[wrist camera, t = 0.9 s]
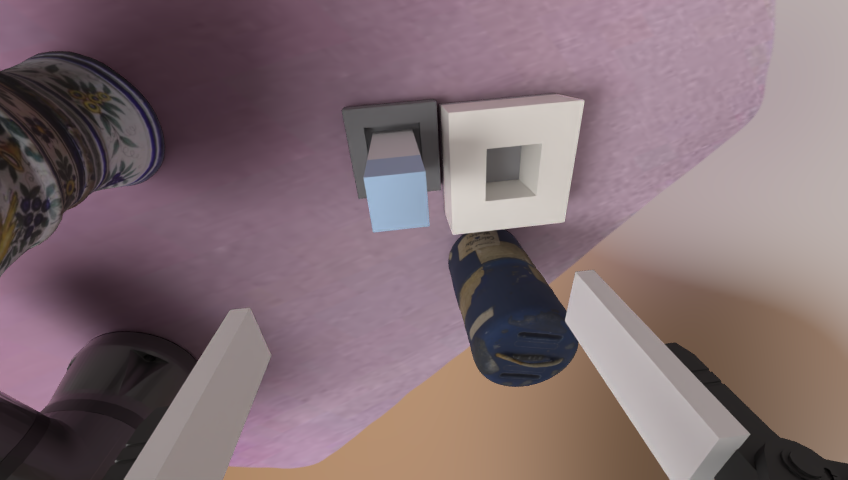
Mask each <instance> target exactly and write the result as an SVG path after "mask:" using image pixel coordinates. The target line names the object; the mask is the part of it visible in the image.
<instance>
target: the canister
mask: <svg viewBox="0 0 848 480" xmlns="http://www.w3.org/2000/svg"><path fill="white" fill-rule="evenodd" d="M448 264H449V270H450V273H451V277H452V282H453V286H454V291H455V295H456V298H457V302H458V305H459V308H460V311H461V314H462V317H463V320H464V325H465V329H466V331H467V335H468V339H469V342H470V346H471V351H472V354H473V358H474V361H475V363H476V366H477V368H478V369H479V371H480V372H481V373H482V374H483V375H484V376H485V377H486V378H487V379H489V380H490V381H492V382H494V383H497V384H500V385H504V386H512V387H519V386H529V385H533V384H537V383H540V382H543V381H545V380H548V379H550V378H551V377H553V376H555V375H556V374H558V373H559V372H560V371H562V370H563V369H564V368H565V367H566V366H567V365H568V364H569V363H570V362H571V360H572V359H573V357H574V355H575V353H576V351H577V348H578V340H577V339H576V337H575V336H574V334H573V333H572V331H571V330H570V328H569V327H568V325H567V323H566V322H565V318H566V313H567V311H566V310H565V308H564V307H563V305H562V304H561V303H560V301H559V300H558V298H557V297H556V295H555V294H554V292H553V290H552V289H551V288H550V287H549V285H548V284H547V282H546V281H545V279H544V278H543V276H542V275H541V273H540V272H539V271H538V270H537V269H536V267H535V266H534V264H533V263H532V261H531V260H530V258H529V257H528V255H527V254H526V253H525V251H524V250H523V248H522V247H521V246H520V244H519V243H518V241H517V240H516V238H515V237H514V236H513V235H512V234H510V233H509V232H508V231H506V230H504V229H501V230H492V231H483V232H474V233H466V234H464V235H462V236H461V237H460V238H459V239H458V240H457V241H456V242H455V244H454V245H453V247H452V249H451V251H450V254H449V261H448Z"/></svg>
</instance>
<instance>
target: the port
mask: <svg viewBox="0 0 848 480" xmlns="http://www.w3.org/2000/svg"><path fill="white" fill-rule="evenodd" d="M584 101H585V100H582V99H578V98H574V97H569V96H565V95H560V94H556V93H550V94H540V95H529V96H518V97H508V98H497V99H486V100H476V101H465V102H455V103H444V104H439V114H440V135H441V156H442V178H443V199H444V212H445V215H446V218H447V221H448V223H449V226H450V229H451V232H452V235H457V234H466V233H474V232H483V231H492V230H501V229H510V228H519V227H528V226H536V225H545V224H554V223H563V222H565V216H566V210H567V204H568V198H569V192H570V186H571V180H572V174H573V168H574V162H575V156H576V150H577V144H578V138H579V132H580V126H581V120H582V114H583V108H584Z"/></svg>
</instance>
